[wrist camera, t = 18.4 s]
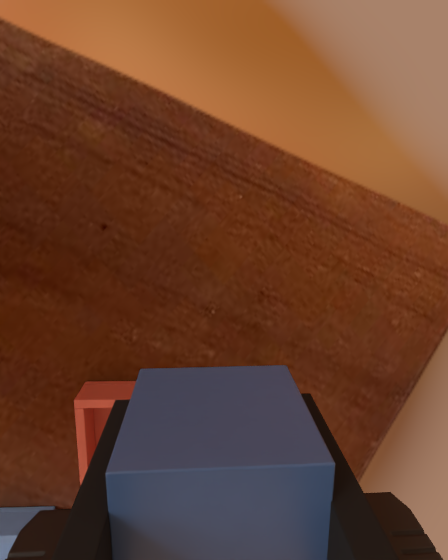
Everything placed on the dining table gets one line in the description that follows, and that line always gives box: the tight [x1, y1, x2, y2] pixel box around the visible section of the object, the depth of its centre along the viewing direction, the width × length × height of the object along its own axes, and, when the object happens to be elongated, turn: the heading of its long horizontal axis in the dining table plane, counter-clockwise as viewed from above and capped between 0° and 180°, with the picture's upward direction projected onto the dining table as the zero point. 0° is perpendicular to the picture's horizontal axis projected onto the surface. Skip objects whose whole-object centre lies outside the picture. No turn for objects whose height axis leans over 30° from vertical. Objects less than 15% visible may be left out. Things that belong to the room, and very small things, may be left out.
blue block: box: [105, 365, 335, 560], centre depth 10 cm, size 4×4×4 cm
